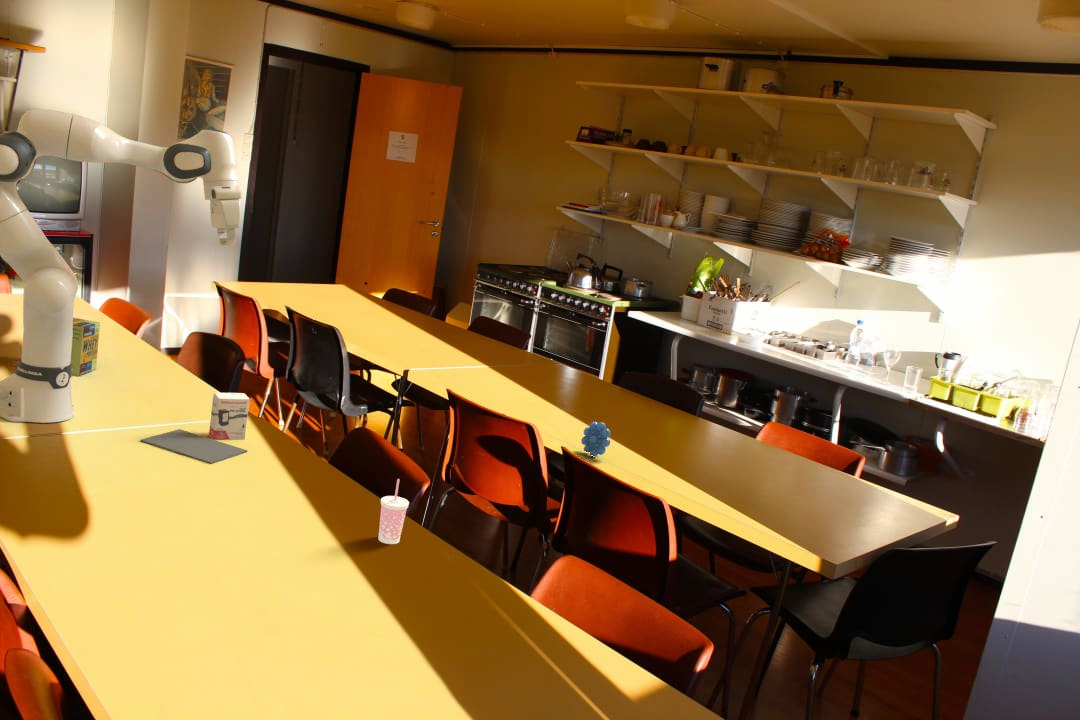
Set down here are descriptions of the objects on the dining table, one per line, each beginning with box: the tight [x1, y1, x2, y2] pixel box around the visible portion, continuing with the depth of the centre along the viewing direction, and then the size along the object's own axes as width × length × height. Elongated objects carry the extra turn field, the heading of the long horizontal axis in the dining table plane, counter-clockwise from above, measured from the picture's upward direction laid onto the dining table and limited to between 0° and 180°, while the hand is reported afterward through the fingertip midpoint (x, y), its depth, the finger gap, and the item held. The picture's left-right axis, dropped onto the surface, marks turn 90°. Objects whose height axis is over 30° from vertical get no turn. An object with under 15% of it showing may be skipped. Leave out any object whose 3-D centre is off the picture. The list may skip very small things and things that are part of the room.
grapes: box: [580, 421, 611, 457], centre depth 285 cm, size 12×7×12 cm, turn 42°
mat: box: [139, 428, 249, 465], centre depth 230 cm, size 22×14×1 cm, turn 70°
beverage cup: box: [378, 478, 410, 545], centre depth 194 cm, size 6×6×14 cm
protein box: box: [70, 317, 101, 377], centre depth 274 cm, size 10×15×16 cm
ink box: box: [208, 392, 251, 441], centre depth 240 cm, size 8×5×12 cm, turn 123°
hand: (227, 245), depth 238 cm, fingers open, 8 cm apart
